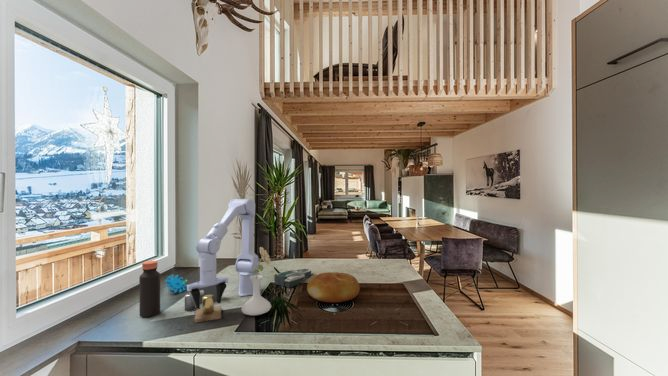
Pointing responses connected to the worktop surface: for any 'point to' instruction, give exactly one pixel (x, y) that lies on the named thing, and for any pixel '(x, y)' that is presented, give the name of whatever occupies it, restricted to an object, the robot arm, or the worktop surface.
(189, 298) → the steel fitting
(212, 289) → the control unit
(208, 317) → the walnut pad
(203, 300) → the brass fitting
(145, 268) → the bottle
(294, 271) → the communication device
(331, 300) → the bread
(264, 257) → the flower in vase
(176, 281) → the blue bumpy lump
